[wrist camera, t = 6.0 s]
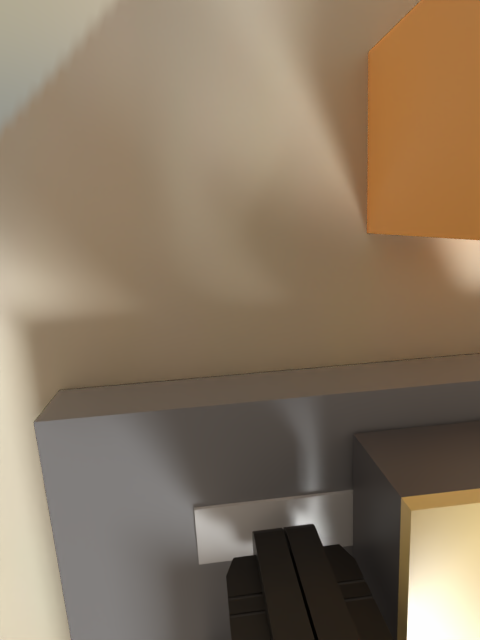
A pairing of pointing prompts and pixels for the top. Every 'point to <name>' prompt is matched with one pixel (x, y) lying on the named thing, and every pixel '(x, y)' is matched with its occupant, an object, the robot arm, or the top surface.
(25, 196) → the top surface
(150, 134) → the top surface
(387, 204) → the orange rectangular block
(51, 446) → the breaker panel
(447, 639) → the block
